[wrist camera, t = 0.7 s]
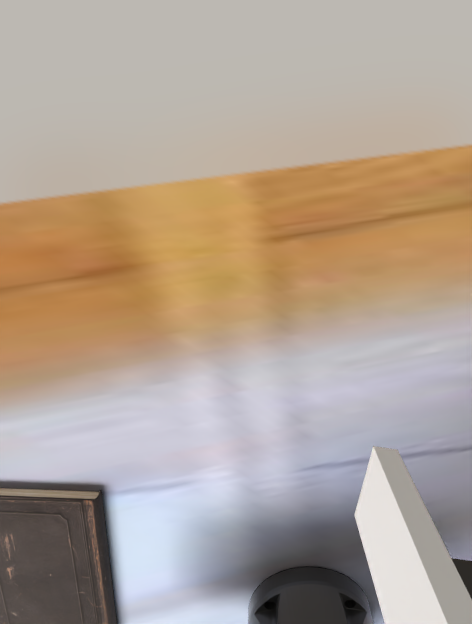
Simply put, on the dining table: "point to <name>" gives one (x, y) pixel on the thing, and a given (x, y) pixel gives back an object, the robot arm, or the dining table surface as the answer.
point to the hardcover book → (54, 558)
